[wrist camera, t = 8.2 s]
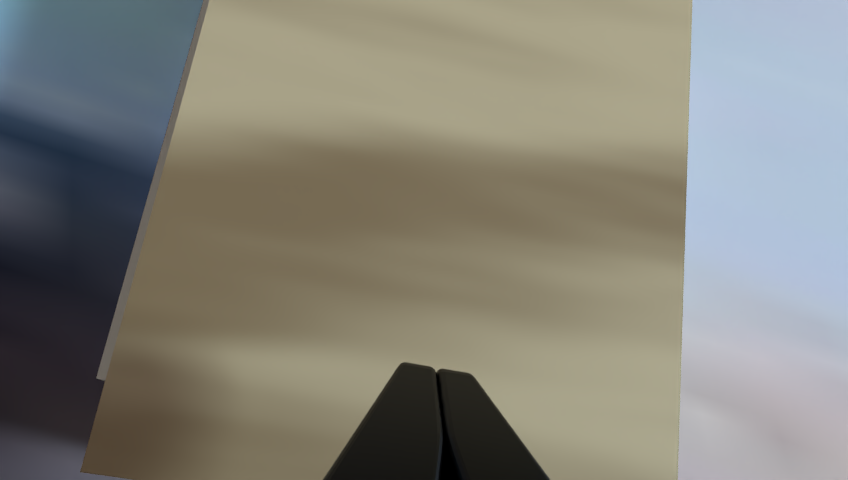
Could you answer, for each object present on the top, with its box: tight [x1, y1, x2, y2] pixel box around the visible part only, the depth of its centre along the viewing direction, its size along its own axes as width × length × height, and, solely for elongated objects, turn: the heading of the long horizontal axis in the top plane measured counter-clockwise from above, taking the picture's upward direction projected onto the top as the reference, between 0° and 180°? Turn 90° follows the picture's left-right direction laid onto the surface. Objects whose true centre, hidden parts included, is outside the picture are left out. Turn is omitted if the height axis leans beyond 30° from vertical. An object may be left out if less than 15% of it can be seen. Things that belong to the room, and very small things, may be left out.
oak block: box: [80, 0, 692, 480], centre depth 15 cm, size 5×9×13 cm
